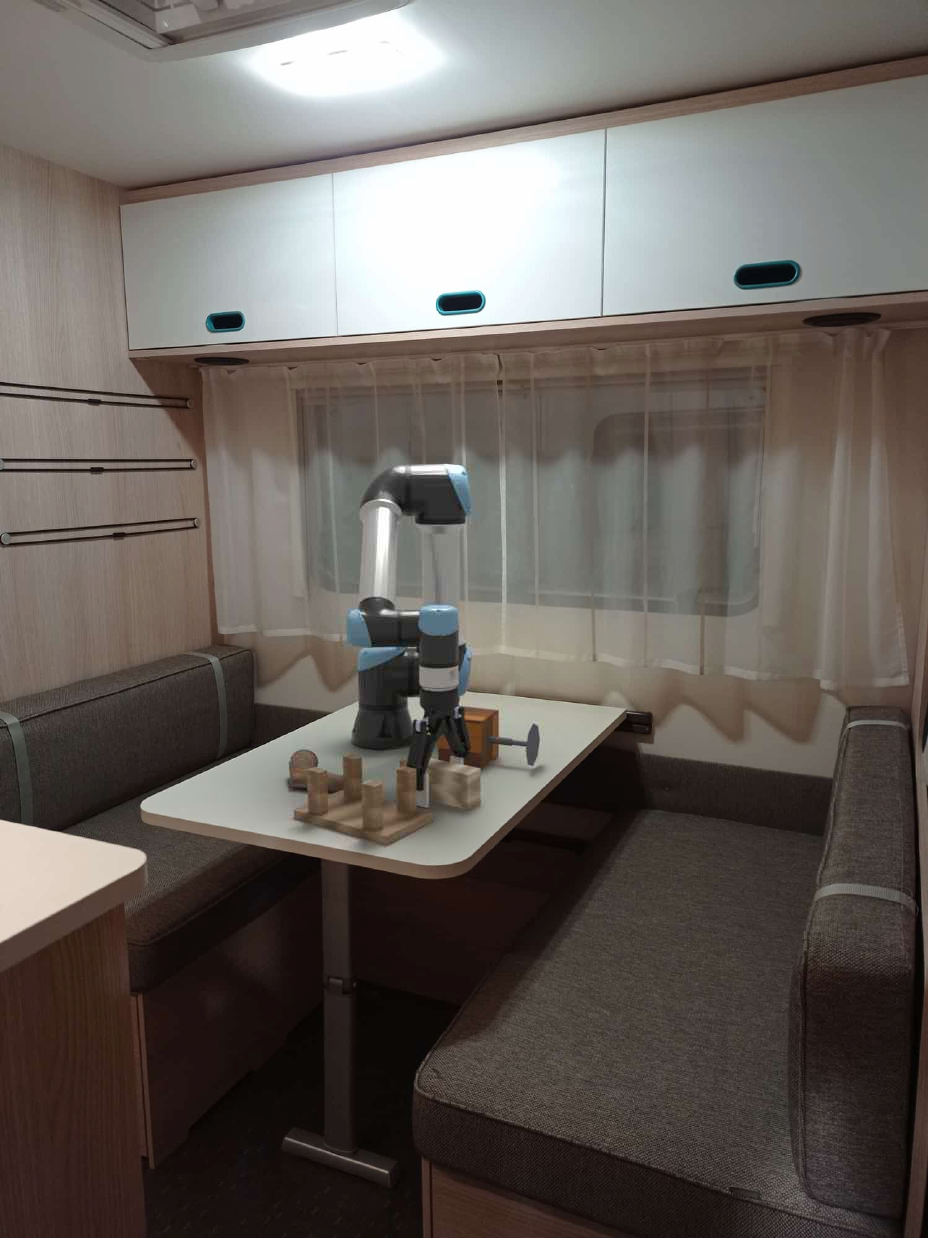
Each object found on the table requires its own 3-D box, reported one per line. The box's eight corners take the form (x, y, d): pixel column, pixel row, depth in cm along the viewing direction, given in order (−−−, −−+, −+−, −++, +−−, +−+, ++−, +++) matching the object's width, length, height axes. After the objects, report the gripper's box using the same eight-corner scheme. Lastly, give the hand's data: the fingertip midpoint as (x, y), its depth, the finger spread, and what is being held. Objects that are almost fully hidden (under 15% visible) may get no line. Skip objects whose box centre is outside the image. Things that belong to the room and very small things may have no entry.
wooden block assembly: (293, 817, 164) (292, 768, 163) (341, 797, 175) (340, 750, 173) (386, 845, 152) (385, 791, 150) (432, 821, 162) (432, 770, 161)
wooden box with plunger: (524, 776, 187) (525, 710, 185) (438, 765, 195) (437, 701, 193) (540, 762, 197) (541, 698, 195) (457, 751, 205) (457, 690, 202)
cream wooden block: (400, 794, 177) (399, 760, 176) (413, 788, 180) (413, 754, 179) (467, 810, 168) (467, 774, 167) (480, 803, 172) (480, 768, 171)
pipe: (348, 775, 174) (366, 752, 183) (270, 767, 178) (292, 745, 187) (350, 804, 176) (369, 780, 185) (274, 796, 180) (295, 772, 189)
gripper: (417, 701, 159) (418, 819, 163) (488, 678, 178) (488, 784, 182) (385, 696, 163) (386, 811, 167) (458, 673, 182) (458, 777, 186)
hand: (439, 797), depth 174 cm, fingers open, 11 cm apart
